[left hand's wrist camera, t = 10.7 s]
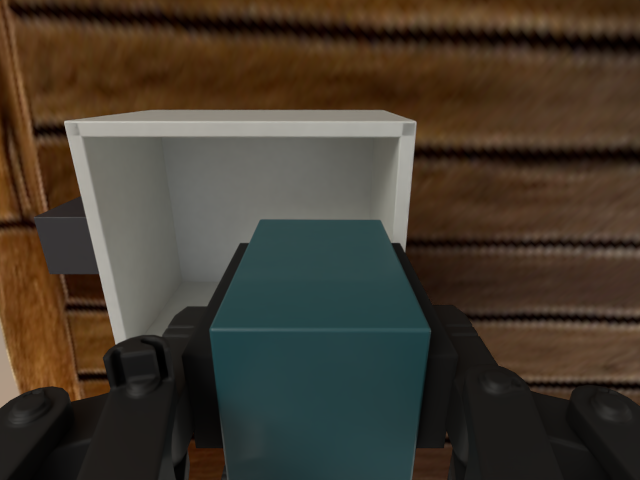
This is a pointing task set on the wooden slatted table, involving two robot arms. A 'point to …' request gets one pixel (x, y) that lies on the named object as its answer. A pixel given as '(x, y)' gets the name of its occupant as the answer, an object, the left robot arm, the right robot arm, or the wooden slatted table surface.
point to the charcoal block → (67, 239)
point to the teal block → (319, 355)
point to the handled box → (223, 193)
